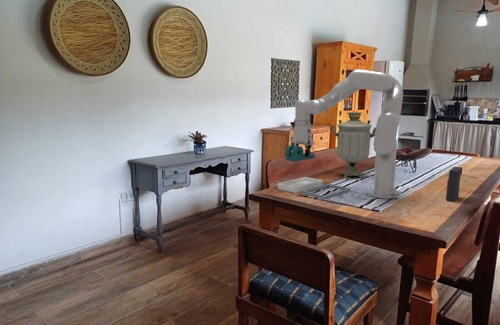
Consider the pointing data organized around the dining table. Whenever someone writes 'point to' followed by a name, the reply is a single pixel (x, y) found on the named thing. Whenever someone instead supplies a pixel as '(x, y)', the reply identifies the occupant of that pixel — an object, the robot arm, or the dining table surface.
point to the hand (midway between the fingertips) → (301, 155)
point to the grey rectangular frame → (343, 190)
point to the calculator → (453, 183)
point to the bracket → (297, 154)
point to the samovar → (353, 142)
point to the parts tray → (300, 184)
